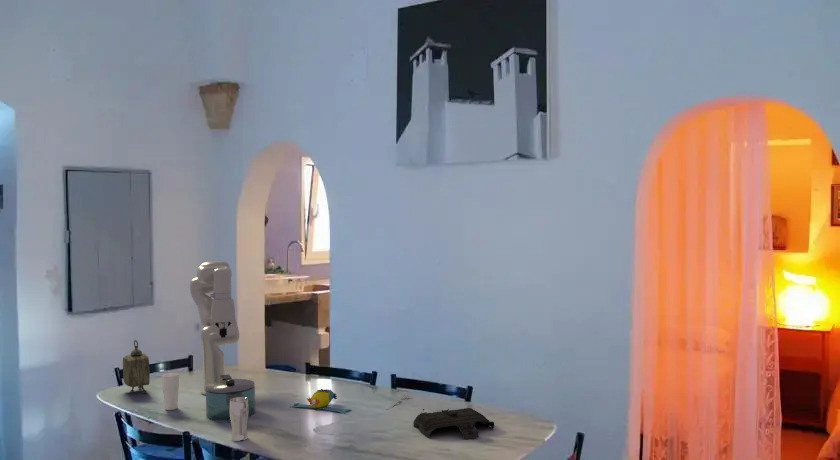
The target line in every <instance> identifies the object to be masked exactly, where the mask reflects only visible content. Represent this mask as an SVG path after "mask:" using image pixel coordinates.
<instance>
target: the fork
mask: <svg viewBox="0 0 840 460" xmlns="http://www.w3.org/2000/svg"><path fill="white" fill-rule="evenodd" d="M409 397H410V395H409V394H406V393H405V394H404V395H403V396H402V398H400V400H397V401H395V402H394V403H393V404H391V405H390V406H389V407H387V408H385V411H389V410H390V409H392V408H393V407H395V405H396V404H398V403H403V401H405V402H406V401H407V400H408V399H409Z"/></svg>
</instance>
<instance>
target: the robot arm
mask: <svg viewBox="0 0 840 460" xmlns="http://www.w3.org/2000/svg"><path fill="white" fill-rule="evenodd" d="M232 276H233V273H232V269H231V267H230V264H229V262H227V261H225V260H223V261H222V260H219V261H206V262H205V261H204V262H203V263H201V264H200V265H199V266H198V268H197V270H196V277H195V278H192V279H191V280H190V282H189V291H190V296H191V298H192V299H193V300H192V301H194V303H195V305H196V306H197V309H198V314H199V319H200V323H201V325H202V327H203V328H202V329H201V331H200V339H201V346H202V361H203V362H202V363H203V364H202V365H203V366H202V367H203V369H202V370H203V388H201V390H200V394H201V395H204V396H206V385H207V384H209V383H212V382H215V381H220V375H226V373H225V354H224V351H223V350H222V349H221V348H220V347H219V346H222V345H224V346H225V345H234V344H236V343H238V341H239V340H240V332H239V331H240V330H239V326H238V321H237V317H236V308H235V307H236V306H235V300H234V299H233V298H232ZM209 294H210V295H209Z"/></svg>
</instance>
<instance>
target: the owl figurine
mask: <svg viewBox="0 0 840 460" xmlns="http://www.w3.org/2000/svg"><path fill="white" fill-rule="evenodd" d="M337 397H338V396H337V393H336V392H333V390H332V389H327V388H326V389H323V388H321V389H317V390H316V391H315V392H314V393H313V394H312V395H311V397H307V398H306V400H307V401H308V402H309V403H308V404H303V403H299V402H297V403H293V405H290V406H289V407H290V408H306V409H307V408H308V409H319V410H326V411H330V412H331V411H332V412H336V413H340V414H345V415H346V414H347V413H349V412H350V411H351V409H350V408H349V409H348V408H347V409H346V408H339V407H335V406H329V404H330V403H331V402H332V401H333V399H334V400H337Z"/></svg>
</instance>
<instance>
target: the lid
mask: <svg viewBox="0 0 840 460" xmlns="http://www.w3.org/2000/svg"><path fill="white" fill-rule="evenodd" d="M254 386H255V381H253V380H251V379H246V378H232V376H231V375H230V373H228V374H225V375H220V381H215V382H212V383H209V384H207V385H206V391H207V392H210V393H215V394H231V393H239V392H244V391H247V390H250V389H252V388H254ZM255 387H256V386H255Z"/></svg>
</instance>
